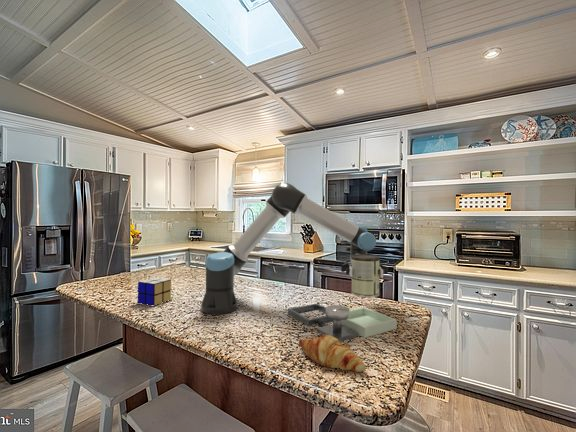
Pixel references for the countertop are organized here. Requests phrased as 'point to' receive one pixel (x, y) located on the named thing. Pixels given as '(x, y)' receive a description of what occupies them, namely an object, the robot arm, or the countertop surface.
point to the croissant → (332, 353)
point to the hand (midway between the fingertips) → (366, 273)
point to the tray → (369, 322)
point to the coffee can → (365, 275)
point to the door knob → (337, 323)
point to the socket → (296, 310)
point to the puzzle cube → (154, 291)
